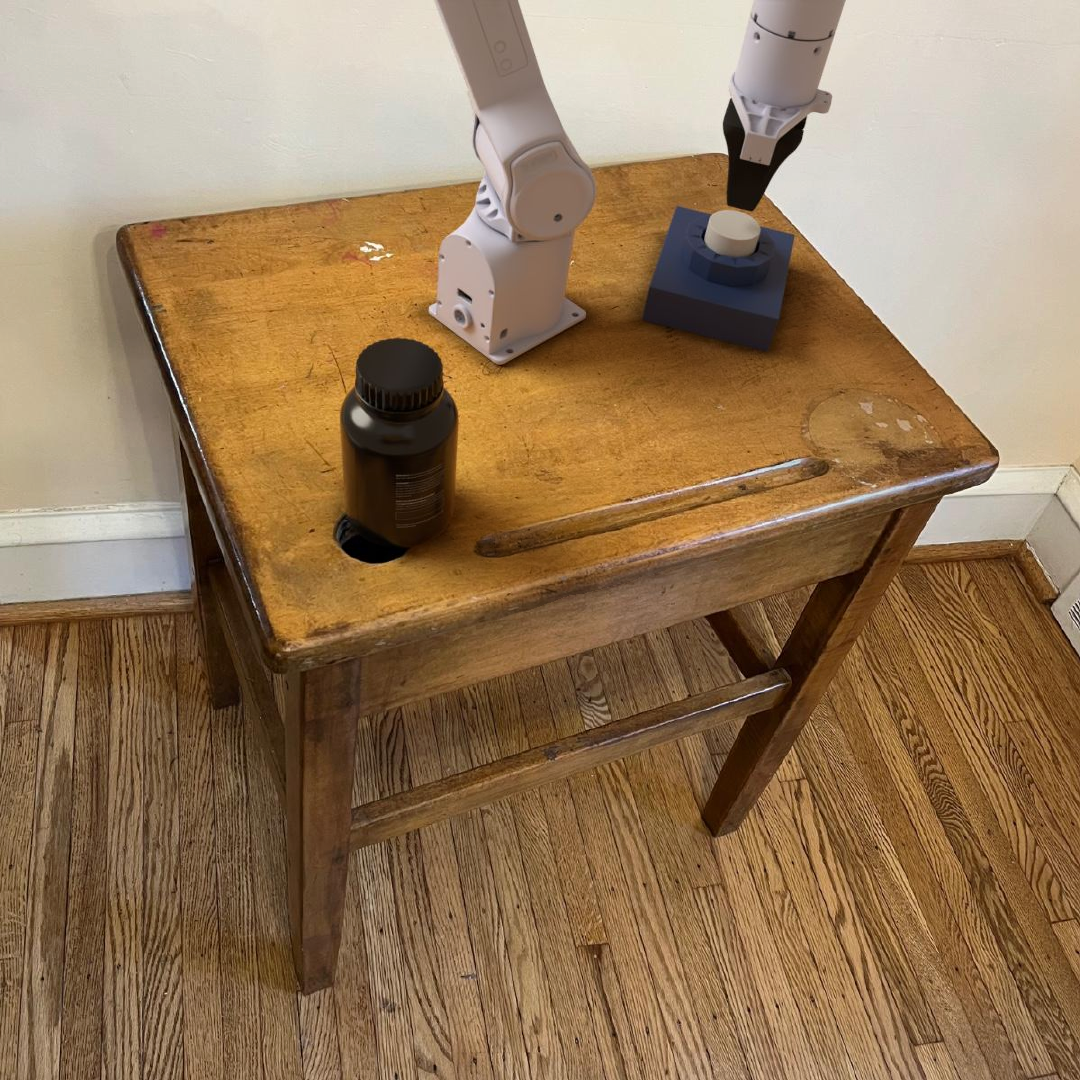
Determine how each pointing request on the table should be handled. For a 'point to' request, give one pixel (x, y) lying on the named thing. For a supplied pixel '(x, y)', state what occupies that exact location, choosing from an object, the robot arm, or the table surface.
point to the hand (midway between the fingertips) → (741, 204)
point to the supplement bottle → (399, 445)
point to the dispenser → (718, 284)
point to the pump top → (732, 233)
